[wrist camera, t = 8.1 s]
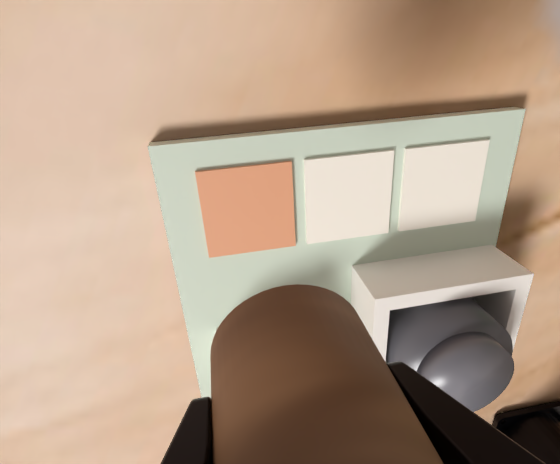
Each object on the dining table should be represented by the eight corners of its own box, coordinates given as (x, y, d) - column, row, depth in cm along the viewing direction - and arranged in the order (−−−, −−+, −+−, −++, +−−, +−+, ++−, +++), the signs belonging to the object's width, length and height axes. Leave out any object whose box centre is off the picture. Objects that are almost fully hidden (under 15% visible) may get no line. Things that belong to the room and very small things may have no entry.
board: (513, 106, 20) (582, 120, 16) (465, 346, 27) (505, 392, 23) (149, 142, 17) (136, 167, 14) (203, 395, 24) (203, 454, 21)
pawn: (365, 273, 9) (581, 575, 4) (360, 390, 11) (504, 709, 6) (199, 298, 9) (190, 685, 3) (221, 417, 11) (238, 794, 5)
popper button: (473, 268, 22) (540, 323, 18) (458, 347, 25) (512, 412, 20) (374, 283, 21) (418, 346, 17) (369, 363, 24) (406, 435, 20)
